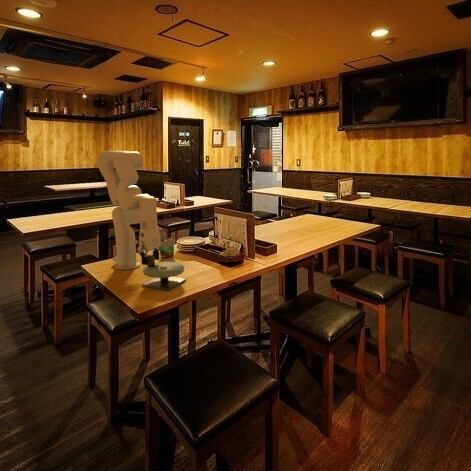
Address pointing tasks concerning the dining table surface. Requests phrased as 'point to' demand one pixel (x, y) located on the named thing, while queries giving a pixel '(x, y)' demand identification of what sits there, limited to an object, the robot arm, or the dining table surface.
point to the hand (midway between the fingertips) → (150, 261)
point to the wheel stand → (164, 283)
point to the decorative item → (230, 252)
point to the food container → (167, 248)
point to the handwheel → (162, 268)
